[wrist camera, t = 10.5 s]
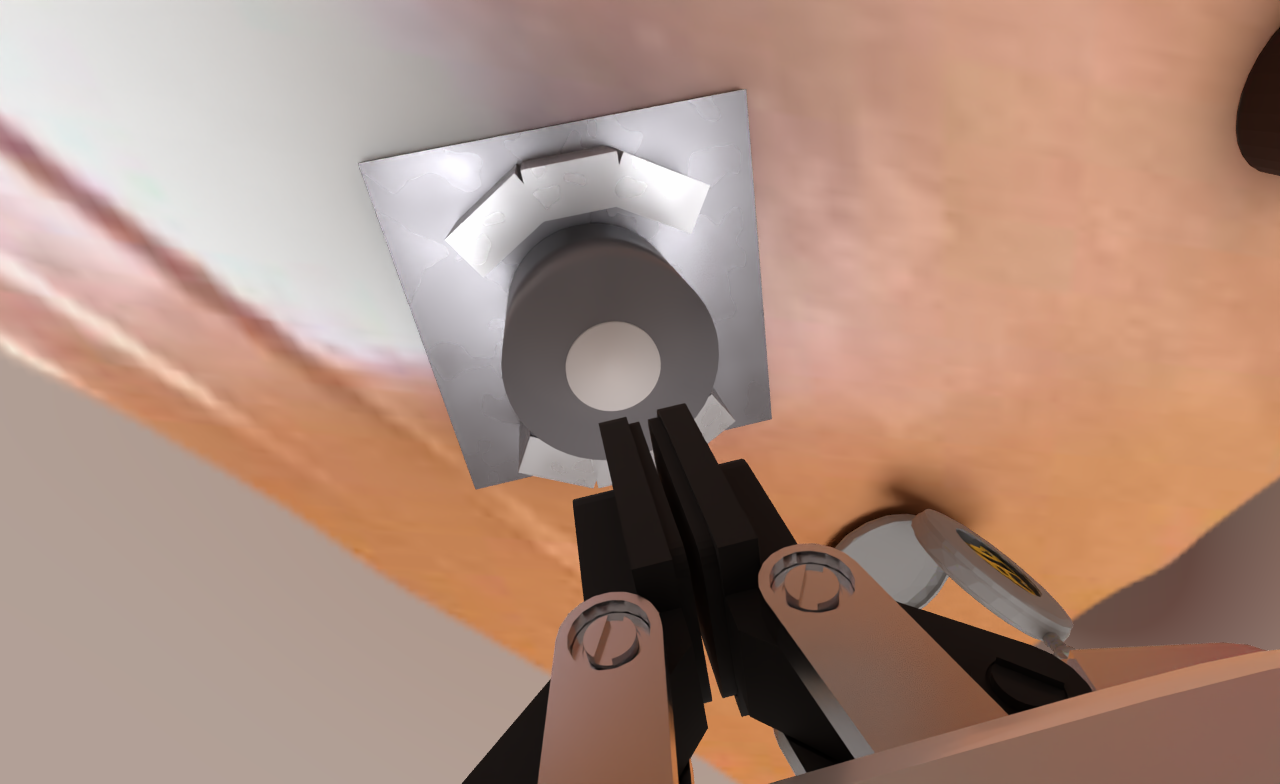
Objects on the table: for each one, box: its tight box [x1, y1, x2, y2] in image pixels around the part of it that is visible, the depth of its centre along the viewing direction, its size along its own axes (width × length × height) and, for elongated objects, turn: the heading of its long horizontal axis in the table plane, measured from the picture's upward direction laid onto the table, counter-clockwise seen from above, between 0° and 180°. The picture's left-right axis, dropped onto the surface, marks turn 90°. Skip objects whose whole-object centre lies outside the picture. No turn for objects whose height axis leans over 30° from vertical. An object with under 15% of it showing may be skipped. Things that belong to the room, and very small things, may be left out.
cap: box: [501, 223, 719, 460], centre depth 18 cm, size 6×6×5 cm
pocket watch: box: [835, 509, 1076, 659], centre depth 24 cm, size 8×8×10 cm
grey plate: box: [358, 89, 772, 489], centre depth 20 cm, size 12×12×4 cm
